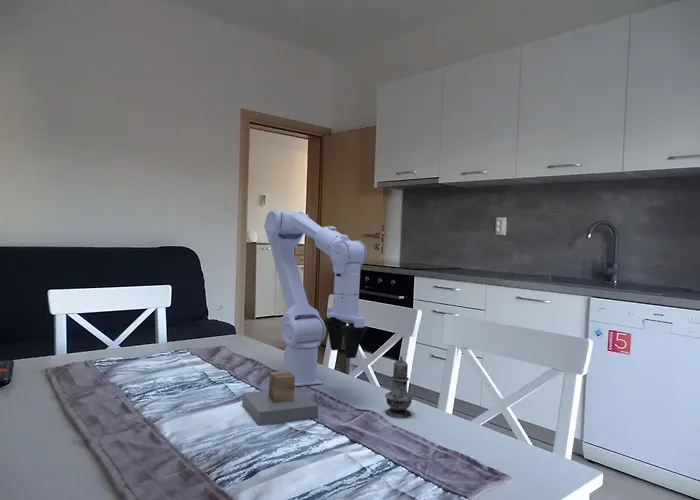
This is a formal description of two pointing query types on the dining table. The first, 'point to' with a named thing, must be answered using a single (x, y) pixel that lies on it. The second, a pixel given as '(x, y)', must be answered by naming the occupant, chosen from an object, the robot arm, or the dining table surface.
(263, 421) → the slate coaster
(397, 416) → the salt shaker
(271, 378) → the walnut block
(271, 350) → the dining table surface
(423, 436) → the dining table surface
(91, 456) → the dining table surface
